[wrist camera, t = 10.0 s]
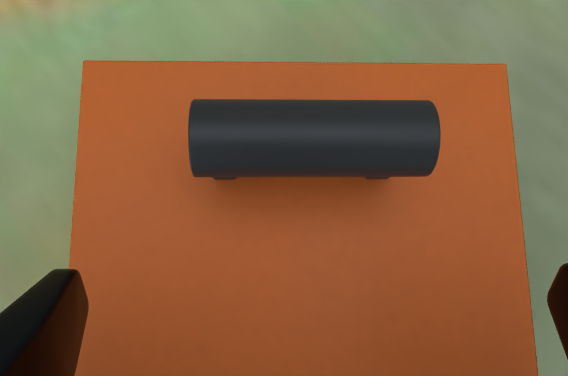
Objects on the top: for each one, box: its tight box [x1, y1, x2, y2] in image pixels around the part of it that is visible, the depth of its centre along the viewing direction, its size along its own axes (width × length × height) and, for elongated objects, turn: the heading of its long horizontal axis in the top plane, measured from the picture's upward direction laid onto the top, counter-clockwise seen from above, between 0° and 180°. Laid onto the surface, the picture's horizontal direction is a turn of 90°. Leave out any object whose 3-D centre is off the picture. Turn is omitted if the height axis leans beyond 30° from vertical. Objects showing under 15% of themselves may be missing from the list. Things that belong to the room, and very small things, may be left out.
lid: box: [69, 61, 538, 376], centre depth 12 cm, size 12×13×5 cm
